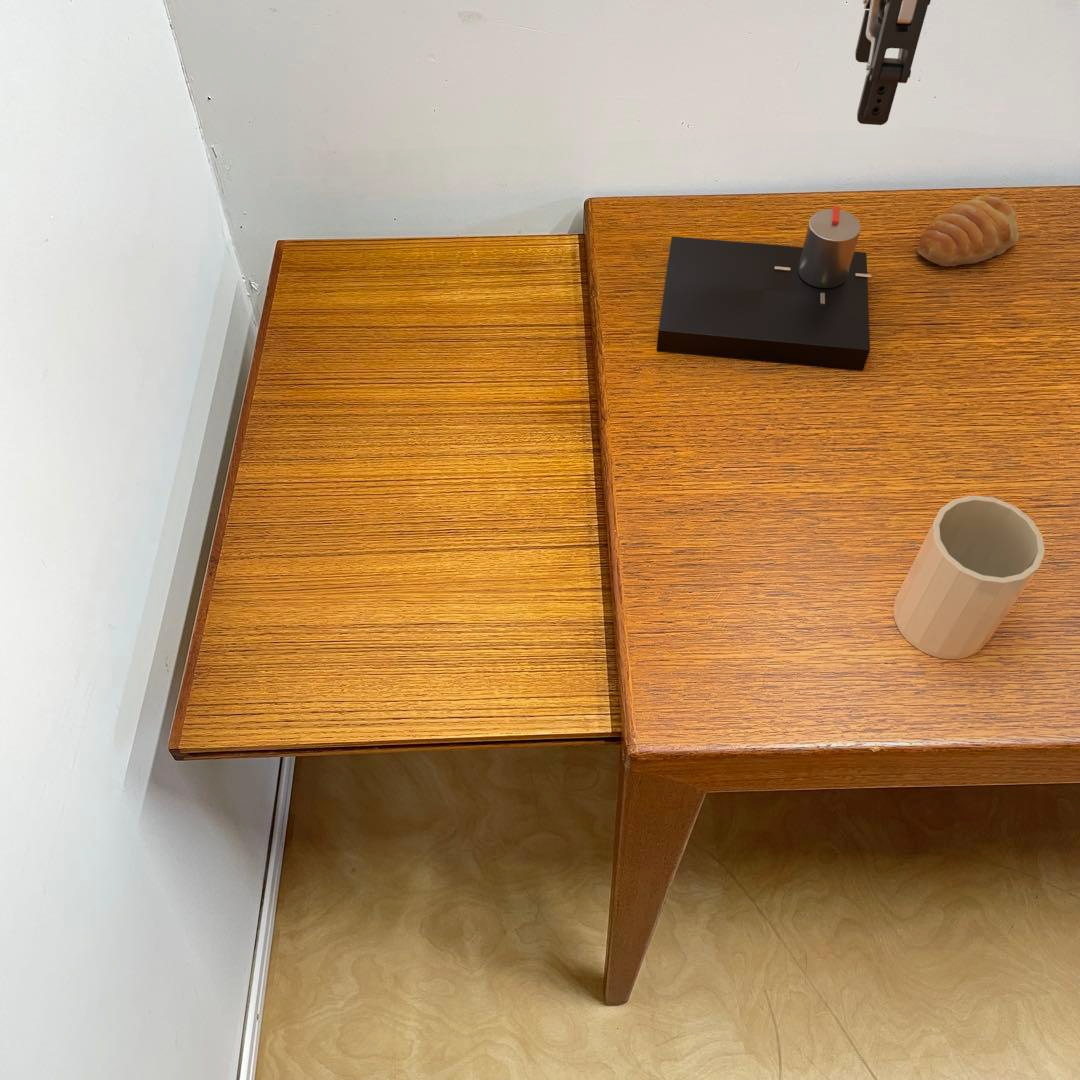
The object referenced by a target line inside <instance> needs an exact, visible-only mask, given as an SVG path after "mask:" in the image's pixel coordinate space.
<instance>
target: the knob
mask: <svg viewBox="0 0 1080 1080" xmlns="http://www.w3.org/2000/svg"><path fill="white" fill-rule="evenodd" d="M861 227H862V225H861V223H860V221H859V219H858V218H857V217H856V216H855V215H853V214H852V213H850V212H848V211H846V210H842V209H841V206H837V205H834V206H833V208H828V209H827V208H826V209H823V210H819V211H817V212H815V213H814V214H812V215H811V216H810V218H809V220H808V224H807V228H806V232H805V233H806V234H805V238H804V241H803V246H802V247H803V250H802V255H801V259H800V263H799V268H798V272H799V275H800V277H801V278H802V280H803V281H805V282H806V283H808V284H809V285H812V286H814V287H818V288H833V287H837V286H839V285H841V284H842V283H844V281H845V280H846V279H847V276H848V272H849V269H850V265H851V262H852V258H853V255H854V251H856V248H857V244H858V241H859V237H860V233H861V230H862V228H861Z"/></svg>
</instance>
